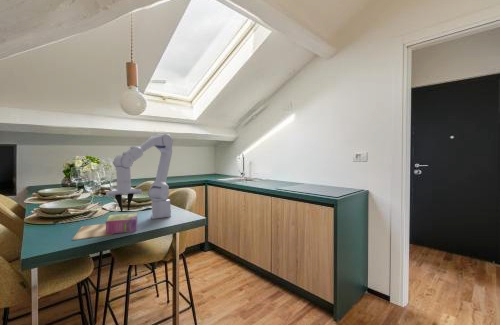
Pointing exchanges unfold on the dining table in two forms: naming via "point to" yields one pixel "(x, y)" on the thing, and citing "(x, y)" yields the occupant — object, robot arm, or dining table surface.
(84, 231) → the wooden board
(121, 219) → the box
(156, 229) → the dining table surface
